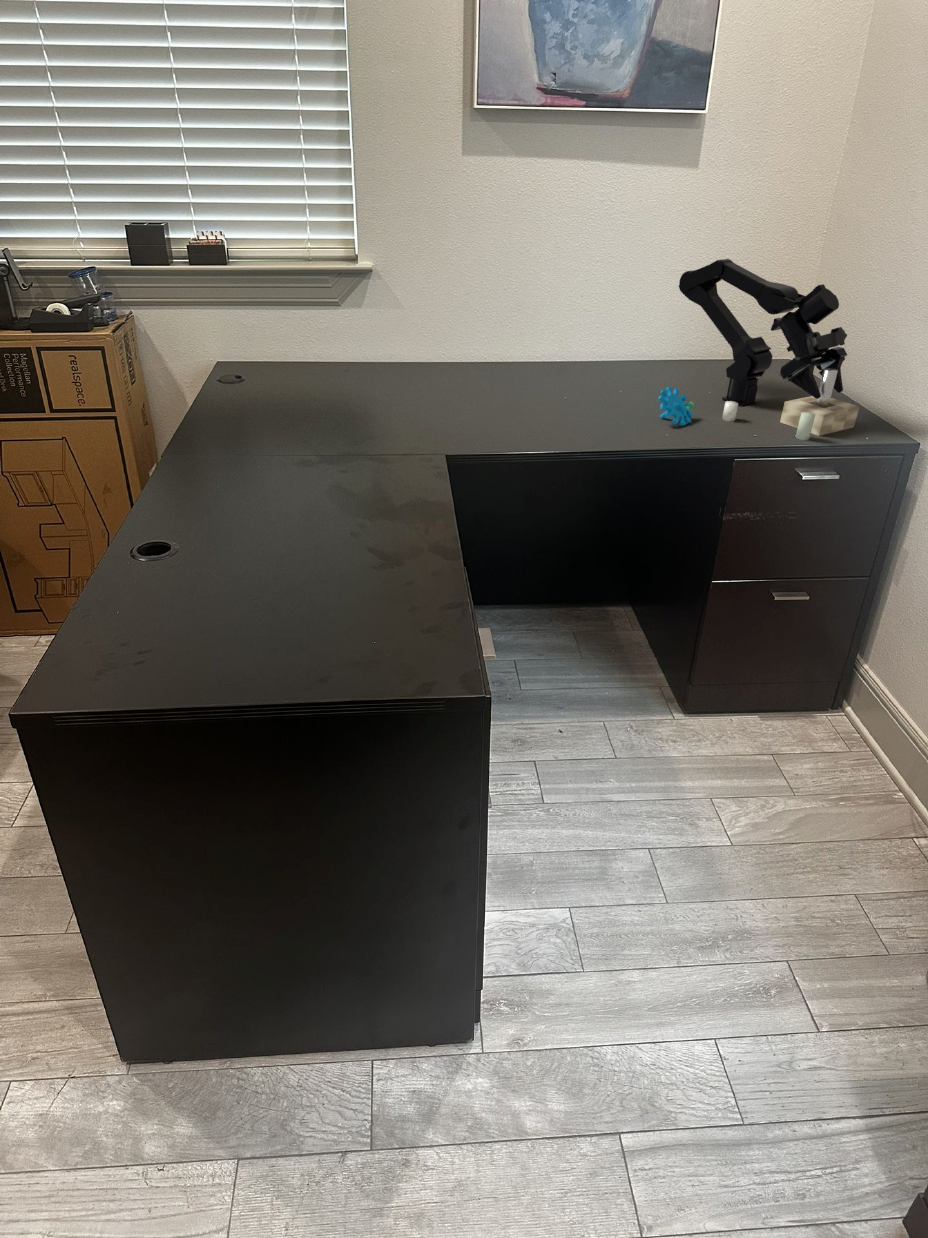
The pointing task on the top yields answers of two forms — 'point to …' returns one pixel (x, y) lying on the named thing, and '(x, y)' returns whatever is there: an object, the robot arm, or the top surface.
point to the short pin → (730, 411)
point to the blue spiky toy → (675, 406)
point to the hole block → (820, 415)
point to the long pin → (826, 387)
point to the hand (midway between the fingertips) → (830, 394)
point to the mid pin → (805, 426)
